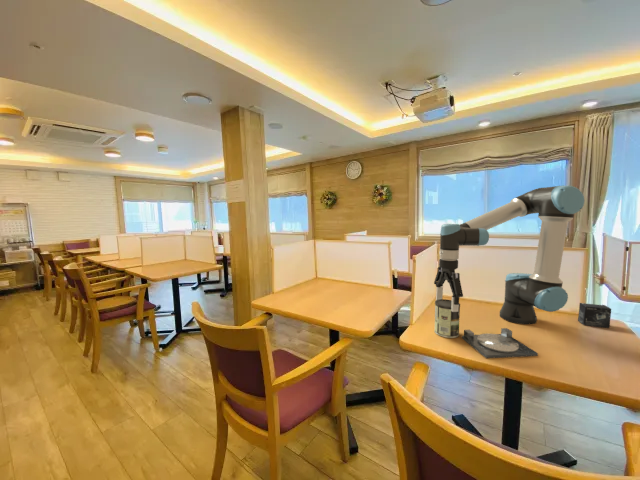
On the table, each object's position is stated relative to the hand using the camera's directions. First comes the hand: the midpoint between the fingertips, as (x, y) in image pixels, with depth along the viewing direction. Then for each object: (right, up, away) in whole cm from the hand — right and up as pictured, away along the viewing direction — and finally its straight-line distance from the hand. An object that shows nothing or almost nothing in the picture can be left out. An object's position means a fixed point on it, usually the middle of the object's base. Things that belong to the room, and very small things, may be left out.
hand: (446, 305), depth 121 cm
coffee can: (+1, -13, +1) cm, 13 cm away
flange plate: (+15, -14, -11) cm, 23 cm away
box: (+72, -11, +7) cm, 73 cm away
